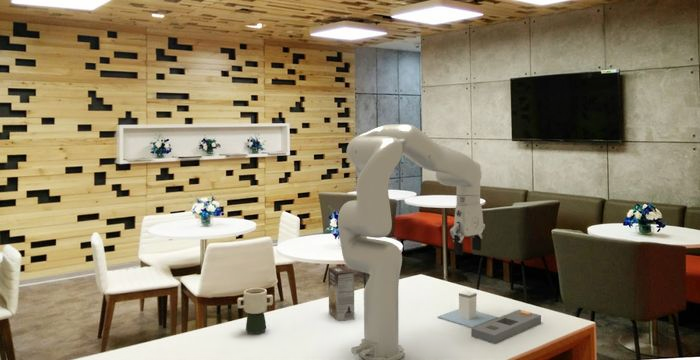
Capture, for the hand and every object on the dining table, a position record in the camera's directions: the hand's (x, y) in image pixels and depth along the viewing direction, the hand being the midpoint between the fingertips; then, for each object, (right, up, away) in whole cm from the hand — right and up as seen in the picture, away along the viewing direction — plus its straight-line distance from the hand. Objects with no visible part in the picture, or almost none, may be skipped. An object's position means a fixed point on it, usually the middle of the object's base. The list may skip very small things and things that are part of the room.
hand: (467, 252), depth 181 cm
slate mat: (0, -22, +2) cm, 22 cm away
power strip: (+10, -23, -9) cm, 27 cm away
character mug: (-68, -24, -9) cm, 72 cm away
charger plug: (0, -22, +2) cm, 22 cm away
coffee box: (-41, -22, +5) cm, 47 cm away
